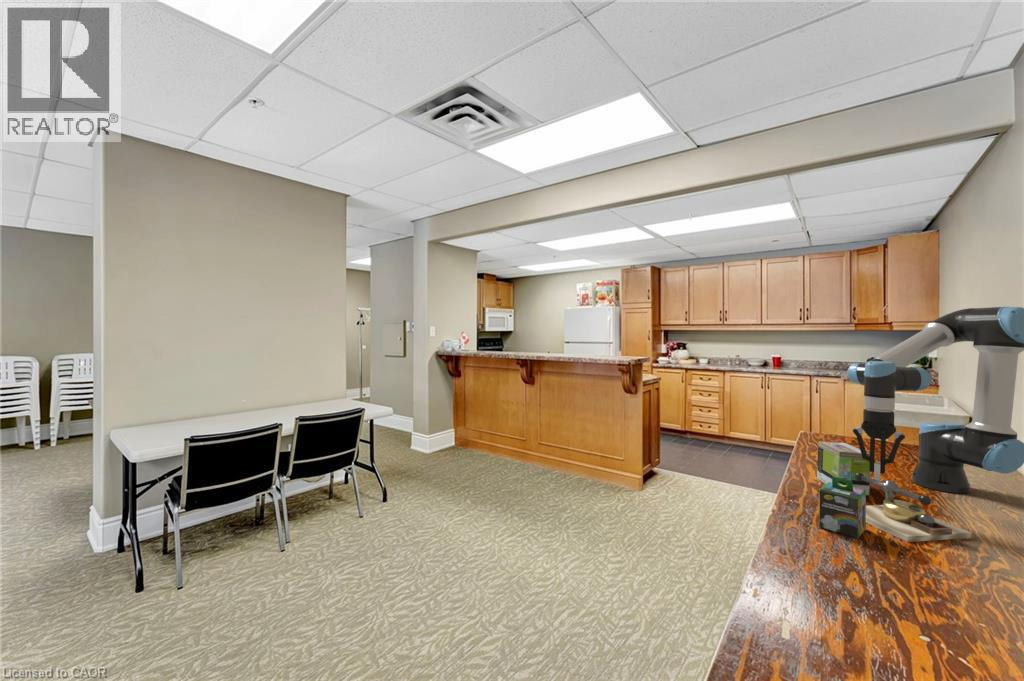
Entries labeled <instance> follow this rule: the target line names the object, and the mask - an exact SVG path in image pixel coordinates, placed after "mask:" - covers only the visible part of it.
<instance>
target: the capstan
mask: <svg viewBox="0 0 1024 681" xmlns="http://www.w3.org/2000/svg"><path fill="white" fill-rule="evenodd" d="M854 477H855V479H856V480H858V481H865V482H868V483H870V484H869V485H874V486H876V487H878V488H881V491H882V492H883V493H884V494H885V495H884V496H885V497H884V500H883V502H882V505H883V514H884V515H886V516H887V517H889V518H892V519H894V520H897V521H901V522H905V523H911V521H916V522H918V516H919V515H921V514H926V509H925V508H924V507H922V506H921V505H918V504H915V503H912V502H909V501H905V500H900V499H895V495H901V496H904V497H907V498H909V499H912V500H915V501H918V502H919V503H920V504H922V505H923V506H929V505H931V504H932V501H933V500H932V499H931V498H930V497H929V496H928V495H923V494H922V495H920V494H917V493H914V492H911V491H908V490H905V489H902V488H900V487H899V484H897V483H895V481H894V480H890V479H886V480H885V481H881V480H880V481H877V480H874V478H871V477H870V478H869V477H866V476H864V475H863V474H862V473H856V474H855V476H854ZM918 523H919V522H918Z"/></svg>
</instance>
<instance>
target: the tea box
mask: <svg viewBox="0 0 1024 681" xmlns="http://www.w3.org/2000/svg"><path fill="white" fill-rule="evenodd" d="M866 453H867V455H868V456H870V452H867V451H866ZM869 465H870V463H869V461H868V460H866V459H863V458H862V454H861V450H860V447H856V446H853V445H852V444H849V443H847V442H833V441H818V442H817V467H816V468H817V470H816V476H817V477H816V479H817V480H819V481H820V482H822V483H823V484H824V485H825V484H827V483H828V482H831V483H832V477H839V478H843V479H848V480H851V481H852V482H853V487H856V488H860V489H865V490H866V496H869V495H870V485H871V484H870V483H868V482H865V481H858V480H856V479H855V477H854V476H855V474H856V473H862V474H863V475H864V476H866V477H869V478H871V472H870V470H869ZM838 484H841V485H846V486H847V484H846V483H845V482H842V481H839V482H838Z"/></svg>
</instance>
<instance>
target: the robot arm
mask: <svg viewBox="0 0 1024 681" xmlns="http://www.w3.org/2000/svg"><path fill="white" fill-rule="evenodd" d="M963 342H972V343H973V344H972V347H973V348H975V349H976V350H977V351H978V362H977V370H976V380H975V381H976V382H975V391H974V400H973V410H972V420H971V422H970V423H969V422H968V423H967V424H962V423H954V422H934V421H933V422H930V421H928V422H922V423H921V424H920V426H919V430H918V431H919V432H918V461H917V464H915V465H916V466H915V467H914V469H913V472H912V473H911V478H910V479H911V482H913V483H914V484H915V485H918V486H921V487H923V488H927V489H931V490H935V491H940V492H946V493H954V494H967V493H971V484H970V482H969V479H968V476H967V473H966V471H965V468H964V465H967V466H972V467H976V468H979V469H982V470H986V471H988V472H994V473H1000V474H1012V473H1014V472H1017V471H1018V470H1019V469H1020V468H1021V467H1023V465H1024V442H1023V441H1021V440H1020V439H1018V432H1017V431H1016V430H1015V429H1013V428H1012V427H1011V426H1012V419H1013V409H1014V402H1015V400H1014V399H1015V391H1016V390H1015V389H1016V383H1017V382H1016V380H1017V371H1018V360H1019V354H1021V353H1022V352H1024V307H1023V306H1020V307H1019V306H994V307H978V308H975V307H972V308H962V309H959V310H955V311H953V312H949V313H946V314H944V315H943V316H940V317H938V318H936V319H934V320H932V321H931V322H928V323H926V324H925V325H924V326H923V328H922V330H921V331H919V332H917V333H915V334H914V335H912V336H910V337H909V338H907V339H906V340H904V341H902V342H900V343H898V344H896V345H895V346H893V347H891V348H889V349H888V350H886V351H885V352H883V353H881V354H879V355H877V356H876V357H873V359H870V360H868V361H866V362H865V363H864V362H857V363H853V364H850V366H849V367H848V369H847V371H846V375H847V376H846V377H847V379H848V380H849V381H850V382H851V383H853V384H857V385H861V386H864V387H863V388H864V389H863V390H864V391H863V407H864V409H863V410H862V411H863V413H862V414H863V418H862V419H863V420H862V422H861V425H860V426H858V427H854V428H853V429H852V432H853V434H854V435H855V437H856V439H857V443H858V446H859V447H858V448H859V449H860V450H861V454H862V458H863V459H866V460H868V461H869V463H870V465H869V470H870V473H873V479H874V480H877V481H880V482H881V474H883V475H885V474H886V465H887V464H893V463H894V460H895V458H896V456H897V452H898V451H899V447H900V445H901V442H902V441H903V440H904V439H905V438H906V435H905V434H904V433H901V432H900V431H898V430H897V427H896V426H895V412H894V411H895V406H896V404H895V403H896V392H903V391H904V392H905V391H906V392H907V391H908V392H909V391H910V392H911V391H912V392H917V391H918V392H919V391H924V390H926V389H928V388H929V387H930V385H931V383H932V376H931V374H930V373H929V371H927V370H926V369H925V368H922V367H917V366H914V367H913V366H910V365H912V364H914V363H915V362H917V361H918V360H920V359H923V358H924V357H926V356H928V355H929V354H931V353H933V352H934V351H936V350H938V349H940V348H942V347H949V346H952V345H953V344H955V343H956V344H957V343H963ZM908 366H910V367H908ZM863 432H864V433H865V434H866V435H867V436H868V437H869V441H870V442H869V453H870V456H868V455H867V453H866V452H867V449H866V446H865V442H864V438H863V436H862V434H863ZM893 435H894V438H895V439H894V441H893V444H892V447H891V450H890V453H889V455H888V458H886V450H887V448H886V447H887V446H886V445H887V440H888V439H889V438H890V437H892V436H893ZM876 440H880V458H879V460H880V461H875V460H876V458H875V453H876Z"/></svg>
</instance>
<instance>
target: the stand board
mask: <svg viewBox="0 0 1024 681" xmlns="http://www.w3.org/2000/svg"><path fill="white" fill-rule="evenodd" d="M933 518H934V520H935V525H934V526H933V527H927V526H925V525H923V524H920V523H918V522H916V521H911V523H905V522H901V521H897V520H894V519H892V518H889V517H887V516H886V515H884V514H883V504H875V505H866V524H867V525H870V526H872V527H874V528H876V529H878V530H881V531H883V532H885V533H887V534H889V535H891V536H893V537H896V538H897V539H900V540H902V541H904V542H906V543H912V542H927V541H928V542H929V541H942V540H944V541H945V540H960V539H971V538H972V532H971V531H968V530H966V529H964V528H961V527H959V526H956V525H955V524H951V523H948V522H946V521H943V520H941V519H938V518H936V517H933Z"/></svg>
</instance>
